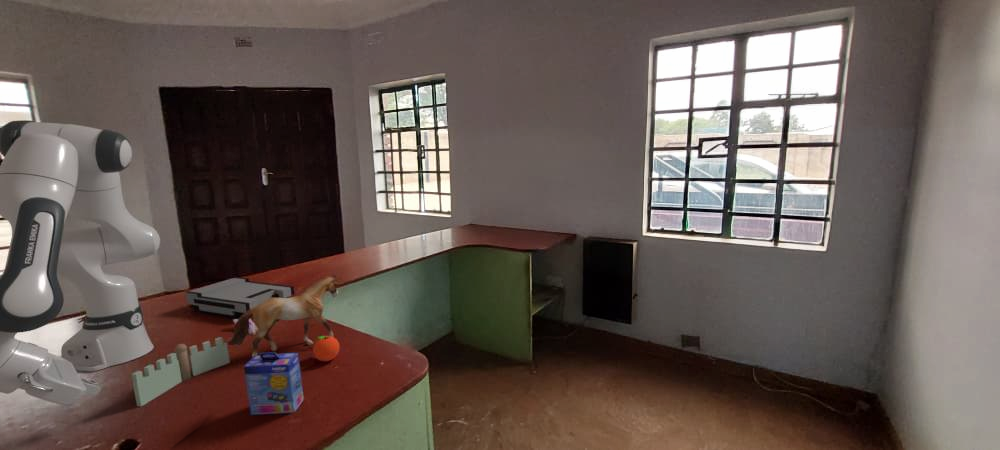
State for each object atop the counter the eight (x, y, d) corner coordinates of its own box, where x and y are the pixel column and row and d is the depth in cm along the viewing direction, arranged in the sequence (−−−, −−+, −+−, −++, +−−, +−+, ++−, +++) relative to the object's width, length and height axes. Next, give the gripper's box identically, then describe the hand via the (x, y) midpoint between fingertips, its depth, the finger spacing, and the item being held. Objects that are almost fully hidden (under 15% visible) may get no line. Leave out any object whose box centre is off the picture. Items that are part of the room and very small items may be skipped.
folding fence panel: (178, 381, 102) (173, 352, 100) (181, 381, 101) (177, 352, 100) (137, 406, 91) (131, 374, 90) (141, 406, 91) (135, 374, 90)
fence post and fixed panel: (181, 382, 101) (175, 347, 100) (177, 379, 103) (171, 345, 101) (230, 364, 110) (226, 331, 109) (227, 361, 112) (222, 329, 110)
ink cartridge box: (248, 416, 88) (240, 356, 86) (261, 401, 94) (253, 344, 91) (294, 413, 89) (287, 353, 87) (304, 398, 94) (298, 342, 92)
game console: (247, 322, 141) (244, 301, 140) (188, 312, 152) (185, 292, 151) (295, 302, 161) (293, 283, 159) (239, 295, 172) (237, 276, 170)
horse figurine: (343, 332, 131) (337, 272, 127) (348, 341, 124) (342, 278, 121) (230, 360, 114) (220, 292, 110) (229, 372, 107) (219, 300, 104)
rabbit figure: (268, 336, 133) (246, 320, 140) (268, 320, 131) (245, 305, 139) (248, 343, 127) (226, 326, 135) (247, 327, 126) (225, 311, 134)
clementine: (305, 363, 111) (303, 339, 110) (324, 351, 118) (322, 329, 116) (328, 367, 109) (325, 343, 107) (345, 355, 115) (343, 332, 114)
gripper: (38, 367, 72) (120, 391, 81) (27, 340, 84) (100, 363, 93) (5, 402, 69) (94, 422, 78) (-1, 368, 81) (77, 389, 91)
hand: (97, 390), depth 86 cm, fingers closed
